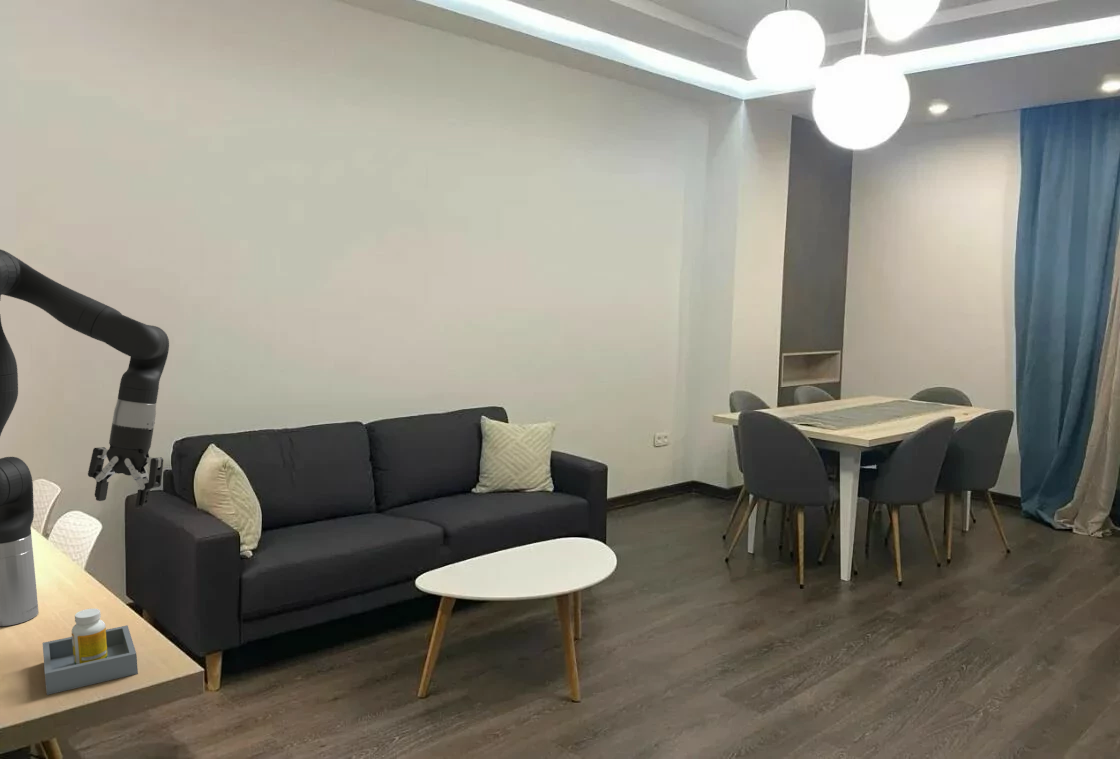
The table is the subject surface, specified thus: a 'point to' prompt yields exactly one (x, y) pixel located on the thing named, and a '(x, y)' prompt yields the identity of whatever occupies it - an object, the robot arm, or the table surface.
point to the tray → (71, 676)
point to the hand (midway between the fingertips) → (120, 504)
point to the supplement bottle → (89, 637)
